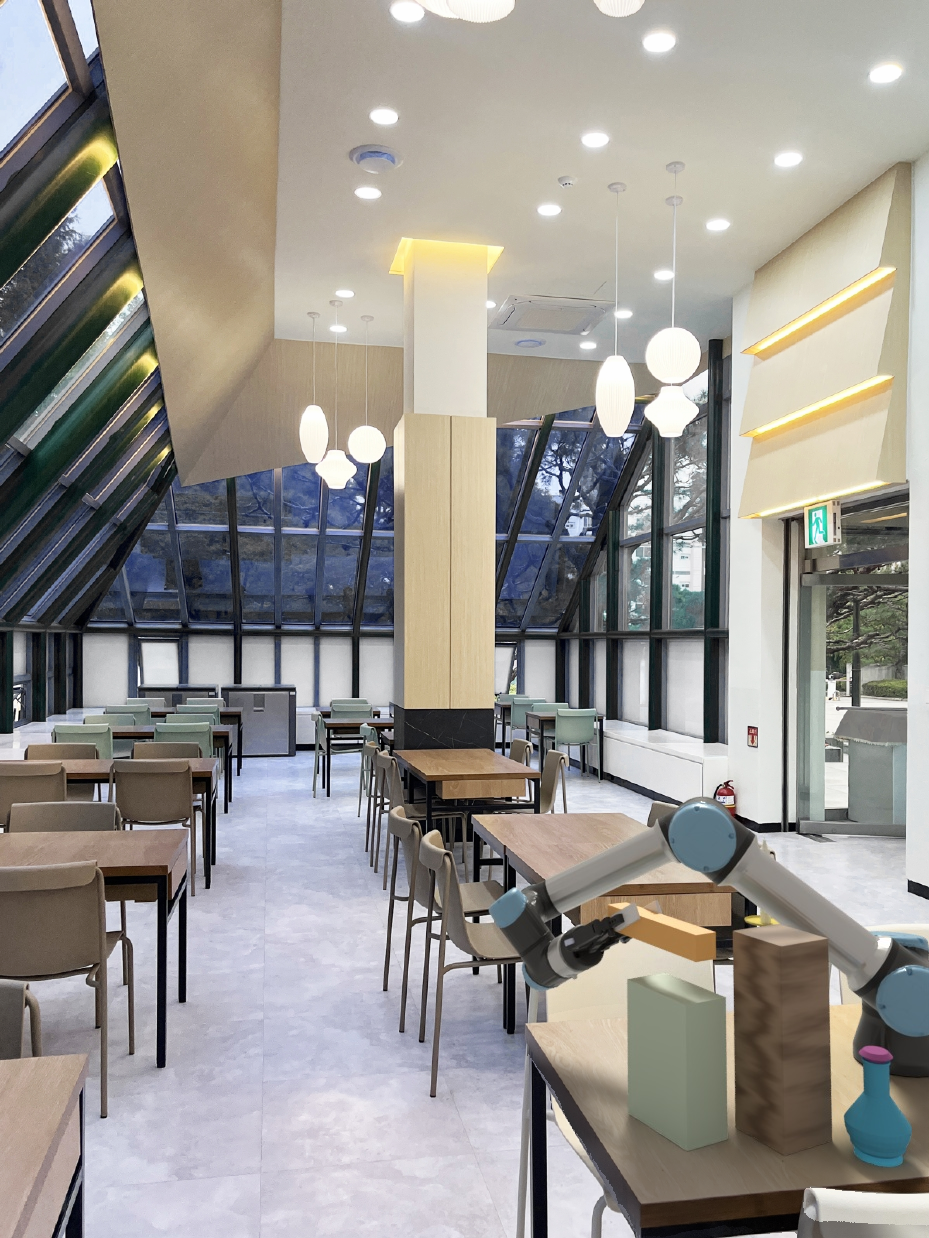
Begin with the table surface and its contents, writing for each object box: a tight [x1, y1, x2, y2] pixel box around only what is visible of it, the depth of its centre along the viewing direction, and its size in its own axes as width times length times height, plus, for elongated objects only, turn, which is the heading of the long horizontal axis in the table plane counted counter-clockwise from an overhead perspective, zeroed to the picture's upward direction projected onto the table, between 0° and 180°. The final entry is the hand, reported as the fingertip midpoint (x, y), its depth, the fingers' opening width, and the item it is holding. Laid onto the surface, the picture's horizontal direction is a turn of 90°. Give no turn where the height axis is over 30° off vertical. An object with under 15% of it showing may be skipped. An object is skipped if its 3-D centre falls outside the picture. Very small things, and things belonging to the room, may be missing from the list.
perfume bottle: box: [843, 1046, 913, 1168], centre depth 137 cm, size 9×9×15 cm
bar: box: [606, 901, 717, 963], centre depth 151 cm, size 22×4×4 cm, turn 28°
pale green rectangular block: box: [626, 972, 729, 1152], centre depth 146 cm, size 14×8×21 cm, turn 28°
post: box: [732, 924, 833, 1156], centre depth 144 cm, size 10×10×30 cm
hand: (647, 909), depth 154 cm, fingers closed on bar, 4 cm apart
